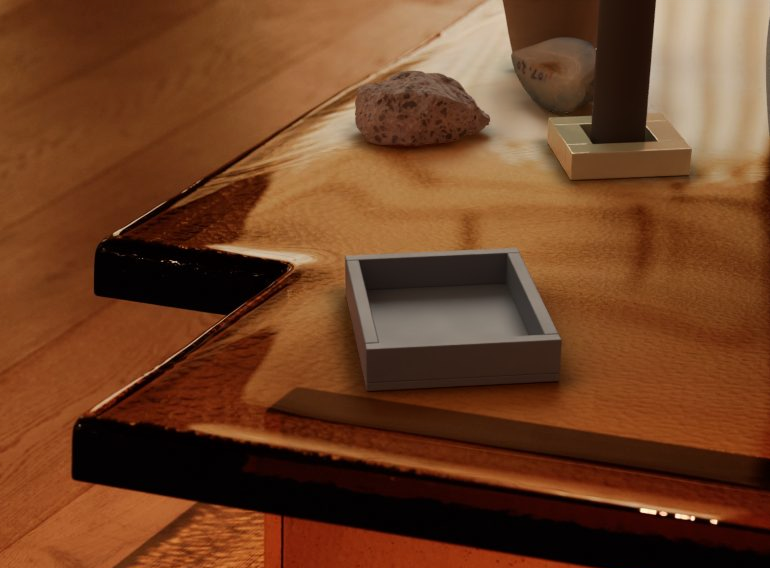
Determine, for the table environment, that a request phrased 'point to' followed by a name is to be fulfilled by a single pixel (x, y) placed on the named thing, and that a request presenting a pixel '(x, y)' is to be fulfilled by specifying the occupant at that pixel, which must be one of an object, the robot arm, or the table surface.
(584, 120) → the beige square tray
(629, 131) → the dark brown tall cylinder
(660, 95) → the table surface
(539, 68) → the seashell
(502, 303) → the grey tray
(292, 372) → the table surface
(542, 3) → the flower pot
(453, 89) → the rock
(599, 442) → the table surface
